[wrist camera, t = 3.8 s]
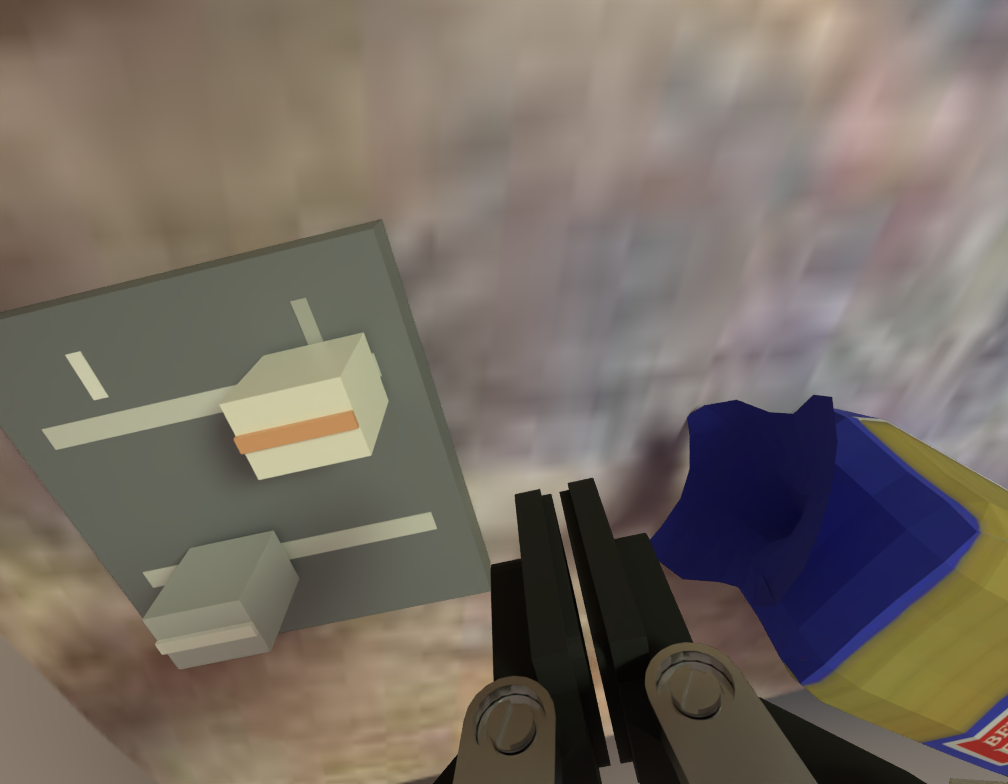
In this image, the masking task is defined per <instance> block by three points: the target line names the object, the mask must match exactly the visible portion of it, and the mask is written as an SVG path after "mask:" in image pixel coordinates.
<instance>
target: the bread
mask: <svg viewBox="0 0 1008 784" xmlns="http://www.w3.org/2000/svg"><path fill="white" fill-rule="evenodd" d="M687 419H688V427H689V435H690V469H689V473H688V476H687V479H686V483H685V486H684V489H683V492H682V496H681V499H680V500H679V502H678V503H677V505H676V506H675V508H674V509H673V510H672V512H671V513H670V515H669V516H668V518H667V519H666V521H665V522H664V524H663V525H662V526H661V528H660V529H659V530H658V531H657V532H656V533H655V535H654V536H653V537H652V538H651V539H650V542H651V544H652V547H653V549H654V552H655V554H656V556H657V559H658V561H659V562H661V563H662V564H663V565H665V566H666V567H667V568H669V569H670V570H671V571H673V572H674V573H675V574H677V575H678V576H679V577H681V578H682V579H688V580H701V581H714V582H722V583H725V584H729V585H733V586H737V587H739V589H740V590H741V592H742V593H743V595H744V596H745V598H746V599H747V601H748V602H749V604H750V605H751V607H752V608H753V610H754V611H755V613H756V615H757V616H758V618H759V620H760V621H761V623H762V625H763V627H764V629H765V631H766V632H767V634H768V636H769V638H770V640H771V642H772V644H773V645H774V647H775V649H776V651H777V653H778V655H779V656H780V658H781V660H782V662H783V663H784V665H785V667H786V668H787V670H788V672H789V673H790V675H791V676H792V677H793V678H794V679H795V680H796V681H798V682H799V683H800V684H801V685H802V686H803V687H805V688H806V689H807V690H808V691H809V692H810V693H812V694H813V695H814V696H815V697H816V698H817V699H819V700H820V701H821V702H823V703H826V704H828V705H830V706H832V707H835V708H837V709H839V710H842V711H844V712H846V713H848V714H851V715H853V716H855V717H858V718H860V719H863V720H865V721H868V722H870V723H873V724H875V725H878V726H880V727H883V728H885V729H888V730H890V731H892V732H895V733H897V734H900V735H902V736H905V737H907V738H910V739H912V740H914V741H917V742H919V743H922V744H924V745H927V746H929V747H932V748H934V749H936V750H939V751H941V752H944V753H946V754H949V755H951V756H954V757H956V758H959V759H961V760H964V761H967V762H969V763H972V764H974V765H977V766H980V767H983V768H985V769H988V770H990V771H993V772H996V773H999V774H1002V775H1004V776H1007V777H1008V490H1007V489H1005V488H1003V487H1002V486H1000V485H998V484H997V483H995V482H993V481H991V480H990V479H988V478H986V477H984V476H983V475H981V474H979V473H977V472H976V471H974V470H972V469H970V468H968V467H967V466H965V465H963V464H961V463H960V462H958V461H956V460H954V459H953V458H951V457H949V456H947V455H946V454H944V453H942V452H940V451H939V450H937V449H935V448H933V447H932V446H930V445H928V444H926V443H925V442H923V441H921V440H919V439H918V438H916V437H914V436H912V435H911V434H909V433H907V432H905V431H904V430H902V429H900V428H898V427H896V426H895V425H893V424H891V423H889V422H888V421H886V420H882V419H878V418H874V417H869V416H865V415H861V414H857V413H852V412H848V411H843V410H839V409H834V408H833V401H832V397H827V396H819V395H813V396H812V397H811V398H810V399H809V400H808V401H807V402H806V403H804V404H803V405H802V406H801V407H800V408H799V409H798V410H797V411H796V412H795V413H794V414H787V413H772V412H767V411H765V410H762V409H759V408H757V407H754V406H752V405H749V404H746V403H744V402H741V401H738V400H733V401H727V402H721V403H716V404H710V405H704V406H703V407H701V408H699V409H698V410H696V411H694V412H693V413H691V414H689V416H688V417H687Z"/></svg>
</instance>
